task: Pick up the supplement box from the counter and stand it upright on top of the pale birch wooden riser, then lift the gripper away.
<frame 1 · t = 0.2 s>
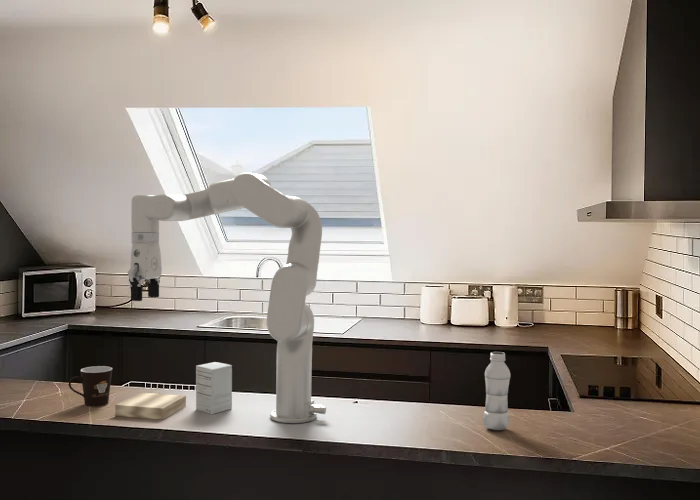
hand: (145, 298, 201), 31 cm above the worktop, tool pointing down, fingers open, 9 cm apart
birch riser: (151, 410, 197), on the worktop
plastic bottle: (495, 430, 184), on the worktop
supplement box: (213, 410, 200), on the worktop
coffee mug: (91, 404, 203), on the worktop
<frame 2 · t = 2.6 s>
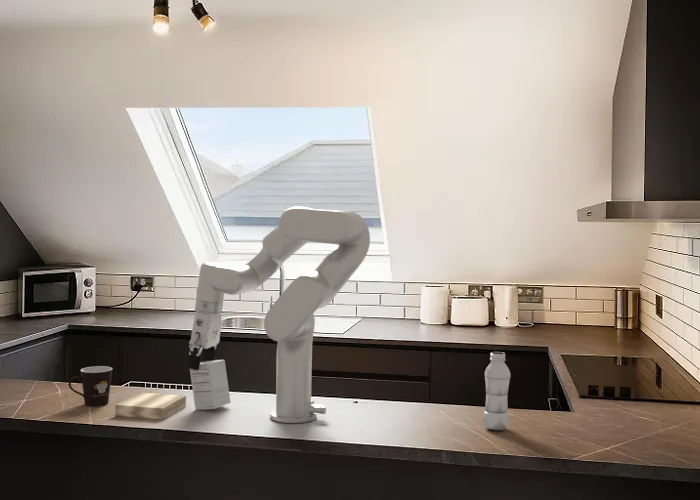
hand: (201, 365, 201), 12 cm above the worktop, tool pointing down, fingers open, 9 cm apart
supplement box: (213, 407, 200), on the worktop, touching gripper
everything else where it was.
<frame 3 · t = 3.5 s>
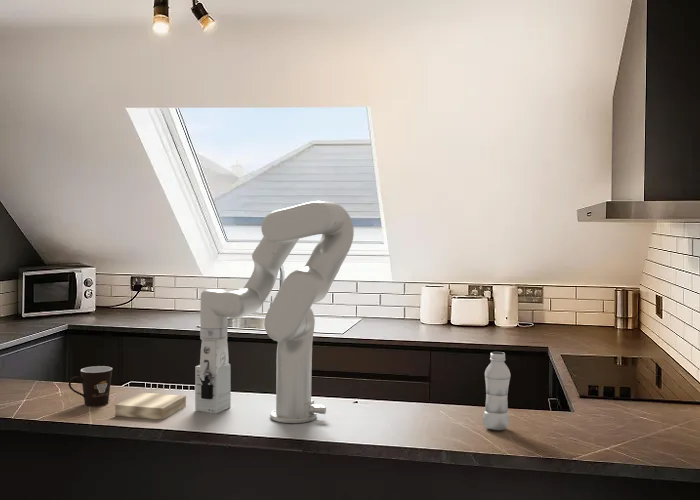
hand: (213, 394, 200), 4 cm above the worktop, tool pointing down, fingers closed on supplement box, 8 cm apart
supplement box: (212, 409, 200), on the worktop, touching gripper
everything else where it was.
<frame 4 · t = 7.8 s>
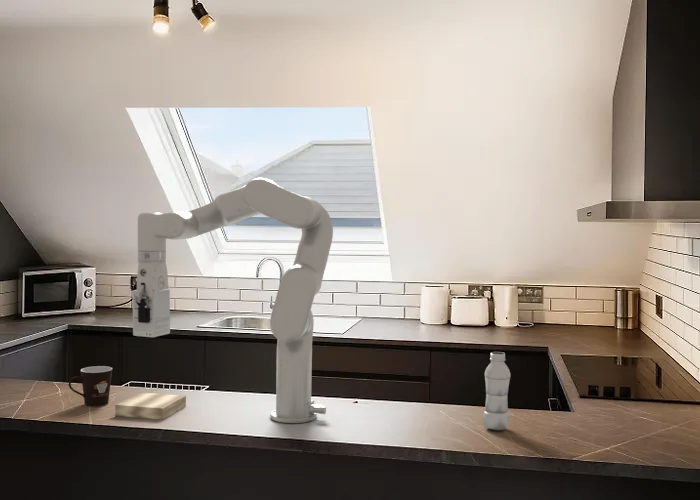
hand: (151, 319, 196), 25 cm above the worktop, tool pointing down, fingers closed on supplement box, 8 cm apart
supplement box: (151, 335, 196), point 21 cm above the worktop, touching gripper
everything else where it was.
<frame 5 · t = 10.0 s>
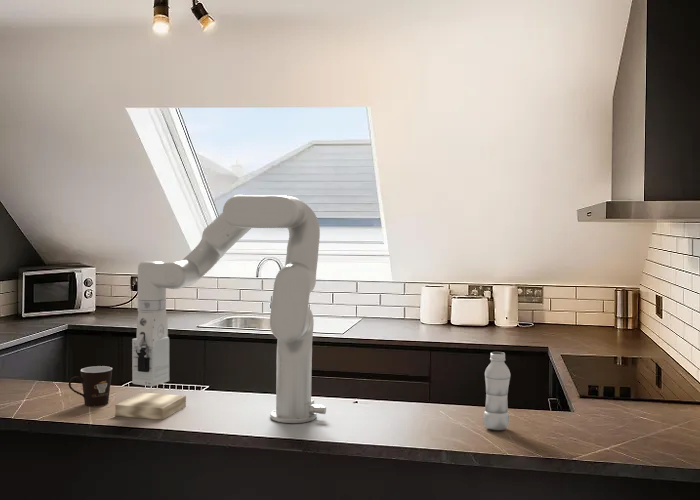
hand: (151, 368, 197), 12 cm above the worktop, tool pointing down, fingers closed on supplement box, 8 cm apart
supplement box: (150, 383, 197), point 8 cm above the worktop, touching gripper
everything else where it was.
when the fingers open (8 cm above the worktop, at t = 11.9 s): supplement box drops 1 cm, resting on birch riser.
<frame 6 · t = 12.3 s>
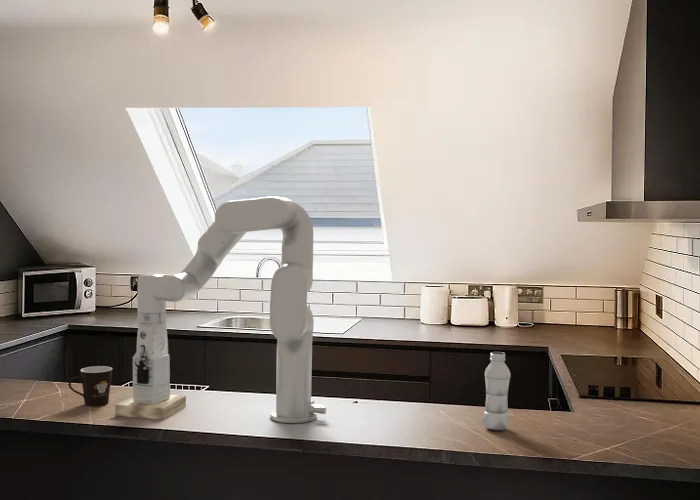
hand: (151, 379, 197), 9 cm above the worktop, tool pointing down, fingers open, 9 cm apart
supplement box: (151, 401, 197), point 3 cm above the worktop, touching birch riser
everything else where it was.
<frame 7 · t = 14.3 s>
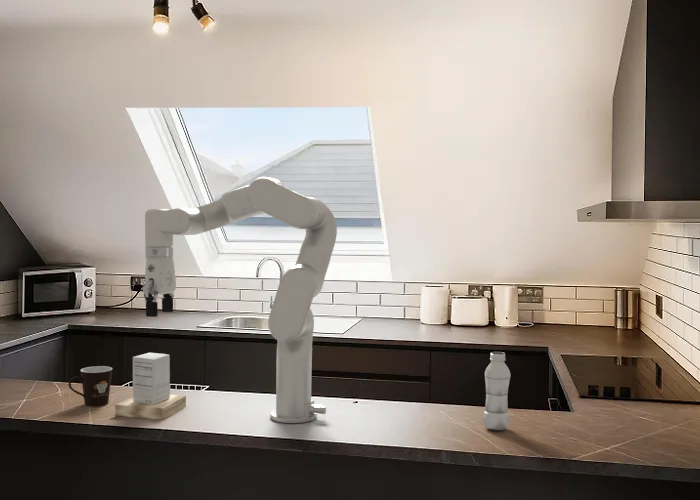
hand: (159, 314, 198), 27 cm above the worktop, tool pointing down, fingers open, 9 cm apart
nothing on the worktop moved.
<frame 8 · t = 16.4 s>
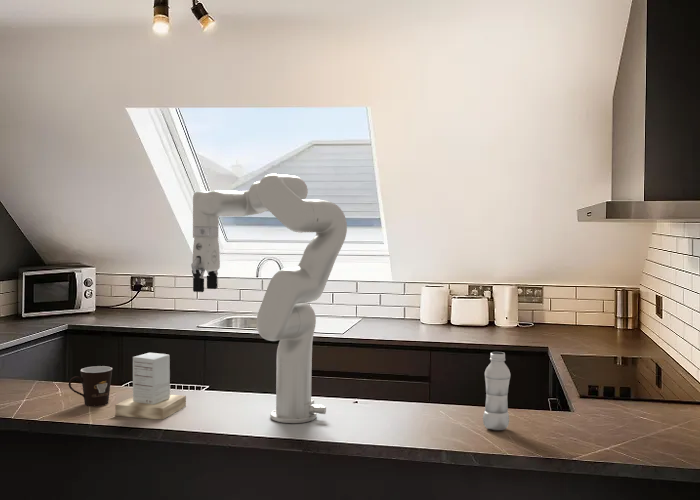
hand: (205, 290, 212), 32 cm above the worktop, tool pointing down, fingers open, 9 cm apart
nothing on the worktop moved.
at the end: supplement box inside the target area on the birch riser (0.2 cm from its centre), point 2.8 cm above the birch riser's base; supplement box tilted 0°; the gripper is holding nothing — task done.
